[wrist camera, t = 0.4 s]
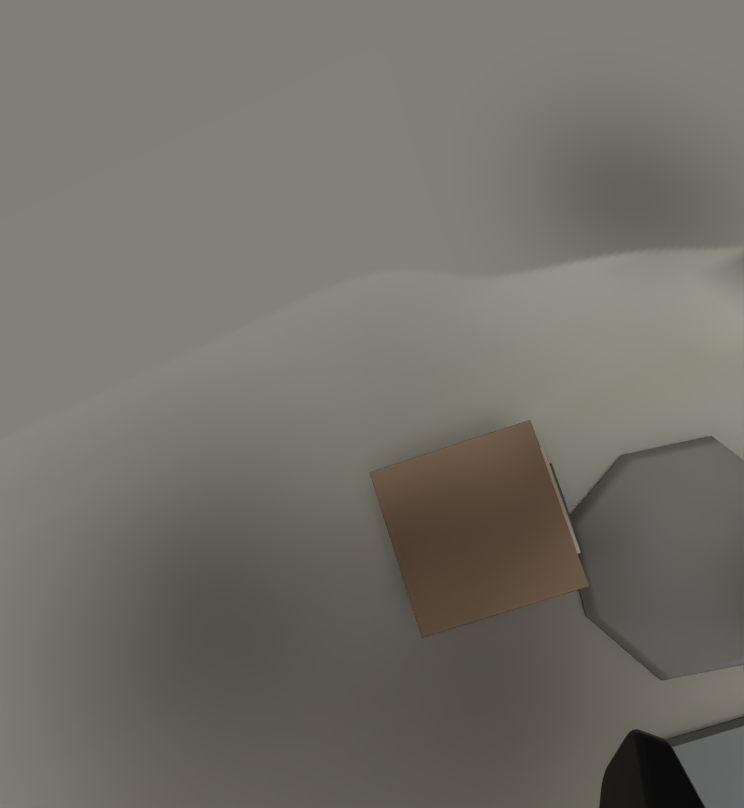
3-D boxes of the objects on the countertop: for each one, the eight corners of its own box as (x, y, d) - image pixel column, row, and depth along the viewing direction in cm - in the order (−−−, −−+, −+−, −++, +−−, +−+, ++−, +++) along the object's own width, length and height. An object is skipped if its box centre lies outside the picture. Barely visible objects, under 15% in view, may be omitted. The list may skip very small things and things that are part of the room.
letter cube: (569, 564, 23) (600, 582, 18) (425, 609, 23) (422, 637, 18) (522, 430, 23) (541, 416, 19) (383, 476, 24) (369, 472, 19)
